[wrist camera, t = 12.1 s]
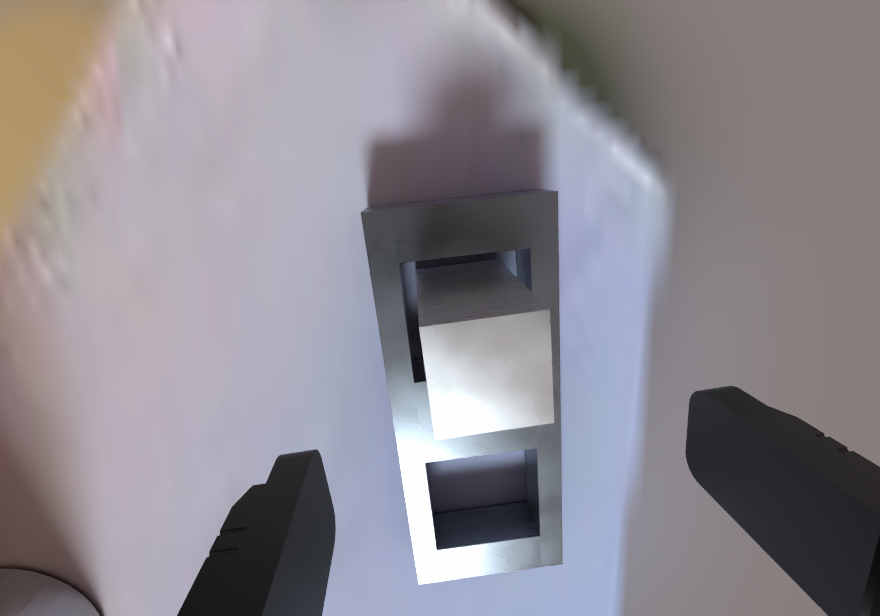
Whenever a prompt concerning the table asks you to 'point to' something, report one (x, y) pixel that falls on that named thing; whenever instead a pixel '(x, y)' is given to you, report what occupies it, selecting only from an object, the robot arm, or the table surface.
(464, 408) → the steel peg
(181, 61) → the table surface
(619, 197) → the table surface
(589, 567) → the table surface
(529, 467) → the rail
